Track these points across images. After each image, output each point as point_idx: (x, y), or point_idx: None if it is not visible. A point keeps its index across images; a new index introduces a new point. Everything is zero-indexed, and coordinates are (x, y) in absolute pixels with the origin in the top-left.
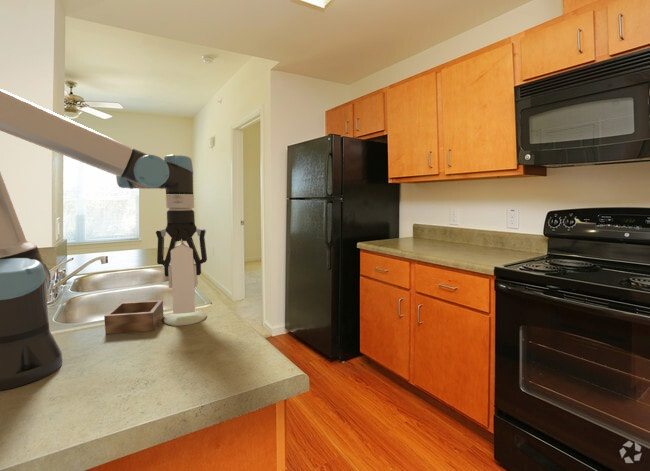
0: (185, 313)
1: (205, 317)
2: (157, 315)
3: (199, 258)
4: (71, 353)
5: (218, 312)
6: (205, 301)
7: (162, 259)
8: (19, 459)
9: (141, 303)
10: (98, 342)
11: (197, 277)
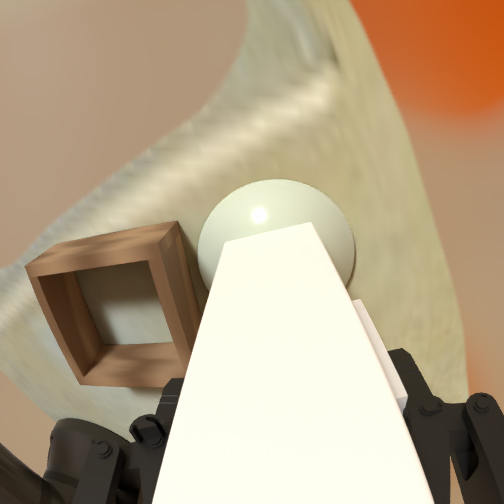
0: (265, 221)
1: (352, 258)
2: (192, 321)
3: (443, 439)
4: (114, 420)
5: (390, 194)
6: (297, 28)
7: (118, 471)
8: None
9: (89, 267)
10: (121, 391)
11: (373, 330)
